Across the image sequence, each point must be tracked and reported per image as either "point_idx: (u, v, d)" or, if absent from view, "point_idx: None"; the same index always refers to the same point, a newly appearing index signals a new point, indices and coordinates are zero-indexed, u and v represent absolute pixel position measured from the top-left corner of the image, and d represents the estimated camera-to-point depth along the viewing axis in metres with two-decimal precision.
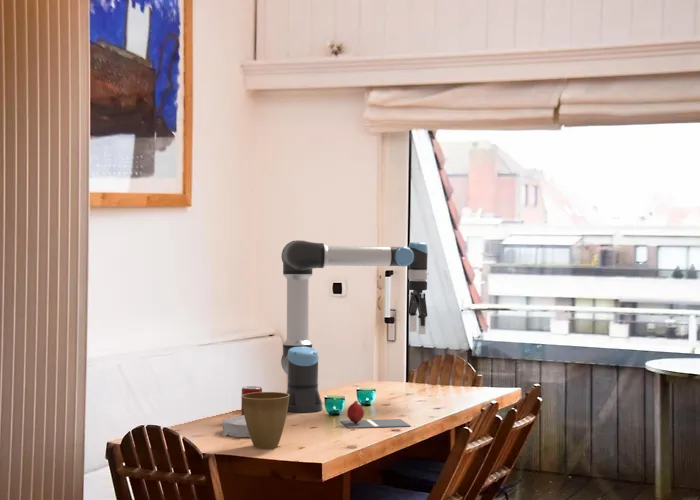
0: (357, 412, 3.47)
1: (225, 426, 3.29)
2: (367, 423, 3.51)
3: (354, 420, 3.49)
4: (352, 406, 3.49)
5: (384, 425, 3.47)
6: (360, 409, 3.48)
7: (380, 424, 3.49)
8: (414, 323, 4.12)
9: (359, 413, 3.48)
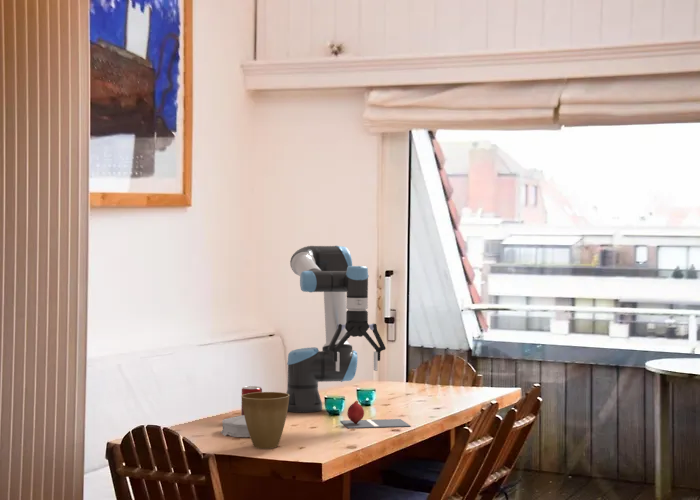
0: (357, 412, 3.48)
1: (225, 426, 3.29)
2: (367, 423, 3.51)
3: (354, 420, 3.49)
4: (352, 406, 3.49)
5: (384, 425, 3.47)
6: (360, 409, 3.48)
7: (380, 424, 3.49)
8: (374, 360, 3.51)
9: (359, 413, 3.48)
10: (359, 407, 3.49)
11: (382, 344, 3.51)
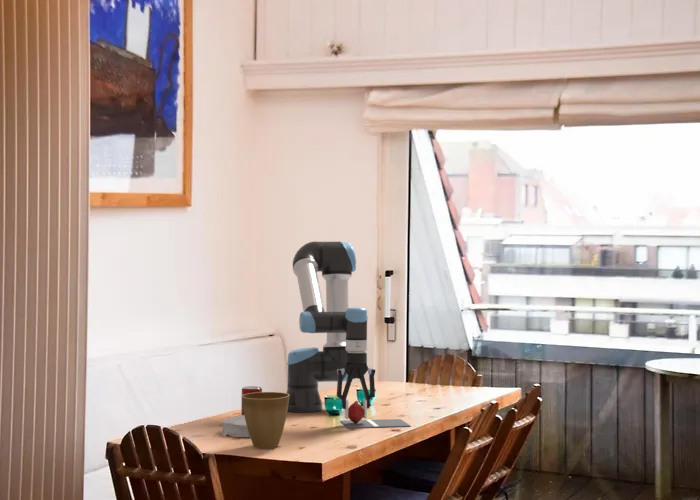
0: (357, 412, 3.48)
1: (225, 426, 3.29)
2: (367, 423, 3.51)
3: (354, 420, 3.49)
4: (352, 406, 3.49)
5: (384, 425, 3.47)
6: (360, 409, 3.48)
7: (380, 424, 3.49)
8: (364, 408, 3.50)
9: (359, 413, 3.48)
10: (359, 407, 3.49)
11: (373, 391, 3.50)
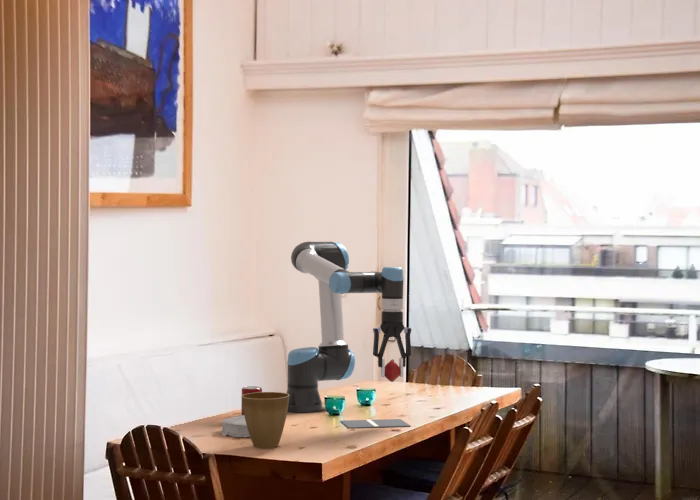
0: (393, 370, 3.50)
1: (225, 426, 3.29)
2: (367, 423, 3.51)
3: (390, 378, 3.51)
4: (388, 364, 3.52)
5: (384, 425, 3.47)
6: (396, 367, 3.51)
7: (380, 424, 3.49)
8: (400, 367, 3.53)
9: (395, 371, 3.50)
10: (395, 365, 3.51)
11: (409, 350, 3.53)
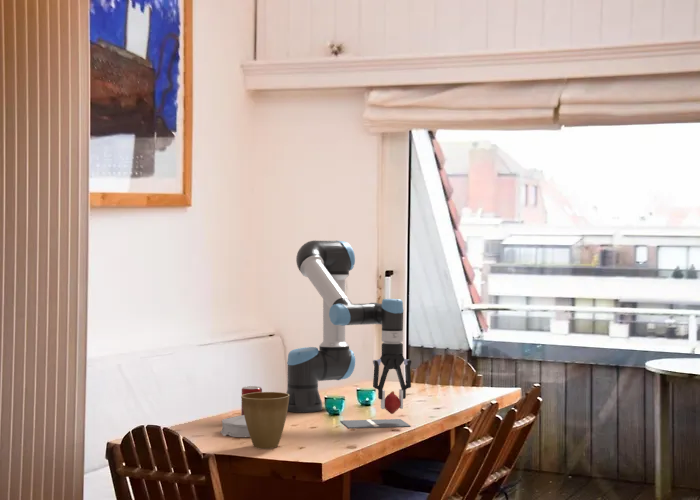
0: (393, 403, 3.50)
1: (225, 426, 3.29)
2: (367, 423, 3.51)
3: (390, 410, 3.51)
4: (389, 396, 3.52)
5: (384, 425, 3.47)
6: (397, 399, 3.51)
7: (380, 424, 3.49)
8: (400, 398, 3.53)
9: (396, 403, 3.50)
10: (395, 397, 3.51)
11: (409, 382, 3.53)
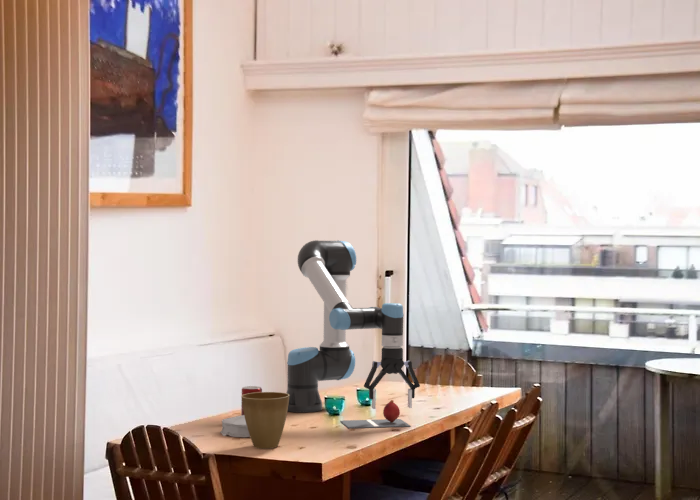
0: (393, 411, 3.50)
1: (224, 426, 3.29)
2: (367, 423, 3.51)
3: (390, 419, 3.51)
4: (388, 405, 3.51)
5: (384, 425, 3.47)
6: (396, 408, 3.51)
7: (380, 424, 3.49)
8: (409, 398, 3.54)
9: (395, 412, 3.50)
10: (395, 406, 3.51)
11: (416, 381, 3.54)
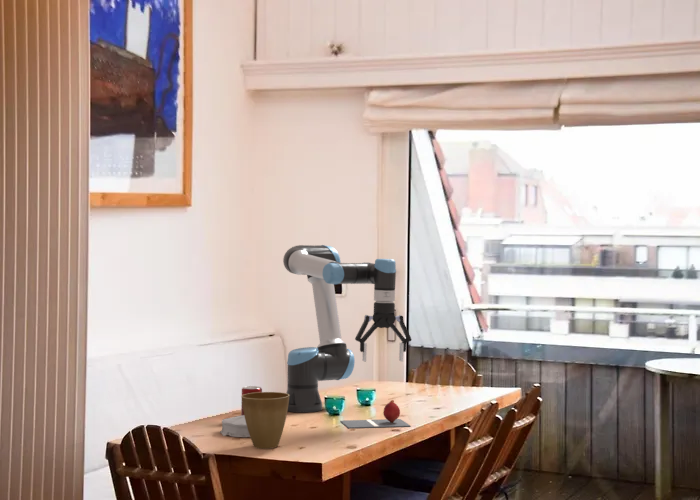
0: (393, 411, 3.50)
1: (224, 426, 3.29)
2: (367, 423, 3.51)
3: (390, 419, 3.51)
4: (388, 405, 3.52)
5: (384, 425, 3.47)
6: (396, 408, 3.51)
7: (380, 424, 3.49)
8: (400, 351, 3.60)
9: (395, 412, 3.50)
10: (395, 406, 3.51)
11: (408, 336, 3.60)
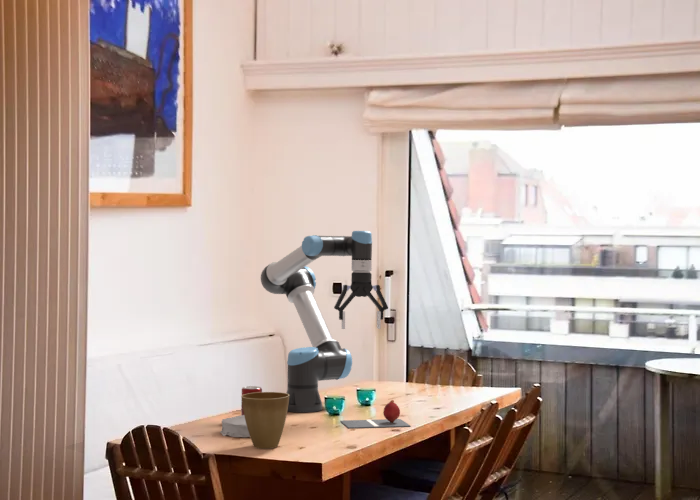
0: (393, 411, 3.50)
1: (224, 426, 3.29)
2: (367, 423, 3.51)
3: (390, 419, 3.51)
4: (388, 405, 3.52)
5: (384, 425, 3.47)
6: (396, 408, 3.51)
7: (380, 424, 3.49)
8: (378, 319, 3.76)
9: (395, 412, 3.50)
10: (395, 406, 3.51)
11: (385, 304, 3.76)
